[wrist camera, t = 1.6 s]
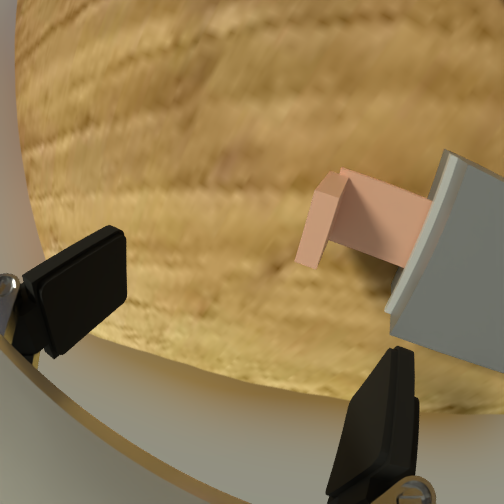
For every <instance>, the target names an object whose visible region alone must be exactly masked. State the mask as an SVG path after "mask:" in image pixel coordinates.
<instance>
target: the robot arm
mask: <svg viewBox="0 0 504 504" xmlns="http://www.w3.org/2000/svg"><path fill="white" fill-rule="evenodd" d="M22 277H23V281H24V282H23V283H22V284H20V281H19V279H18V277H17V276H15V275H13V274H8V273H6V274H0V504H250V503H248V502H246V501H243V500H241V499H238V498H236V497H233V496H231V495H229V494H227V493H224V492H222V491H219V490H218V489H215V488H213V487H211V486H209V485H207V484H204V483H203V482H201V481H198V480H196V479H194V478H192V477H190V476H189V475H187V474H185V473H183V472H181V471H179V470H177V469H175V468H173V467H172V466H170V465H168V464H166V463H164V462H163V461H161V460H159V459H157V458H156V457H154V456H152V455H151V454H149V453H147V452H146V451H144V450H142V449H141V448H139V447H137V446H136V445H134V444H133V443H131V442H130V441H128V440H127V439H125V438H124V437H122V436H121V435H119V434H118V433H116V432H115V431H113V430H112V429H110V428H109V427H107V426H106V425H105V424H103V423H102V422H100V421H99V420H98V419H96V418H95V417H93V416H92V415H90V413H88V412H87V411H86V410H84V409H83V408H82V407H80V406H79V405H78V404H77V403H75V402H74V401H73V400H72V399H70V398H69V397H68V396H67V395H65V394H64V393H63V392H62V391H61V390H59V389H58V388H57V387H56V386H55V385H53V383H51V382H50V381H49V380H48V379H47V378H46V377H45V376H44V375H42V374H41V373H40V372H39V371H38V370H37V369H38V362H39V356H40V351H41V350H42V349H43V348H44V350H45V352H46V353H47V354H48V355H50V356H51V357H52V358H53V359H55V358H56V357H58V356H59V355H63V354H65V353H66V352H67V351H68V350H69V349H71V348H72V347H73V346H74V345H75V344H76V343H77V342H78V341H80V340H81V339H82V338H83V337H84V336H86V335H87V334H88V333H89V332H90V331H91V330H92V329H94V328H95V327H96V326H97V325H98V324H99V323H101V322H102V321H103V320H104V319H105V318H106V317H108V316H109V315H110V314H111V313H112V312H114V311H115V310H116V309H117V308H118V307H119V306H121V305H122V304H123V303H124V302H125V300H126V298H127V273H126V237H125V236H124V232H123V231H122V230H120V229H118V228H116V227H113V226H111V225H108V226H105V227H103V228H102V229H100V230H98V231H96V232H94V233H92V234H91V235H89V236H87V237H85V238H84V239H82V240H80V241H78V242H76V243H75V244H73V245H71V246H70V247H68V248H66V249H64V250H63V251H61V252H59V253H58V254H56V255H54V256H53V257H51V258H49V259H48V260H46V261H44V262H43V263H41V264H39V265H38V266H36V267H35V268H33V269H31V270H30V271H28V272H26V273H25V274H23V275H22ZM414 386H415V371H414V352H413V351H411V350H408V349H405V348H403V347H400V346H396V347H395V348H394V349H391V348H389V349H388V350H387V351H386V353H385V354H384V356H383V357H382V358H381V360H380V361H379V363H378V364H377V365H376V367H375V368H374V370H373V371H372V372H371V374H370V375H369V376H368V378H367V379H366V380H365V382H364V383H363V384H362V386H361V387H360V388H359V390H358V391H357V392H356V393H355V395H354V396H353V397H352V399H351V401H350V403H349V406H348V410H347V414H346V418H345V423H344V427H343V431H342V435H341V439H340V443H339V447H338V450H337V454H336V458H335V461H334V465H333V468H332V472H331V475H330V478H329V482H328V485H327V488H326V495H329V499H328V502H327V504H436V494H435V491H434V488H433V487H432V485H431V484H430V483H429V482H428V481H427V480H426V479H424V478H422V477H420V476H415V471H416V461H417V449H418V433H419V400H418V398H416V397H414Z"/></svg>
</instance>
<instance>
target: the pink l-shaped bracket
mask: <svg viewBox="0 0 504 504" xmlns="http://www.w3.org/2000/svg"><path fill="white" fill-rule="evenodd" d="M432 202H433V201H432V200H429V199H427V198H425V197H422V196H420V195H417V194H415V193H412V192H410V191H407V190H405V189H402V188H399V187H397V186H394V185H392V184H389V183H386V182H384V181H381V180H378V179H375V178H372V177H370V176H367V175H364V174H361V173H358V172H355V171H352V170H349V169H346V168H343V167H341V170H340V174H338V173H335V172H332V171H330V172H329V173H328V174H327V175H326V177H325V178H324V179H323V180H322V182H321V183H320V184H319V185H318V187H317V188H316V189H315V191H314V195H313V198H312V202H311V206H310V209H309V213H308V216H307V220H306V223H305V227H304V231H303V234H302V238H301V241H300V244H299V248H298V251H297V255H296V258H295V261H294V262H297V263H300V264H302V265H305V266H308V267H311V268H313V269H317V266H318V264H319V262H320V259H321V257H322V255H323V252H324V250H325V248H326V245H327V243H328V240H330V241H333V242H336V243H338V244H341V245H344V246H347V247H349V248H352V249H355V250H358V251H360V252H363V253H366V254H368V255H371V256H374V257H376V258H379V259H382V260H384V261H387V262H390V263H392V264H395V265H397V266H400V267H403V268H405V266H406V264H407V261H408V259H409V257H410V255H411V253H412V250H413V248H414V246H415V243H416V241H417V239H418V236H419V234H420V232H421V229H422V227H423V224H424V222H425V219H426V217H427V214H428V212H429V209H430V207H431V204H432Z"/></svg>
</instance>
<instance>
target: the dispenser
mask: <svg viewBox="0 0 504 504" xmlns="http://www.w3.org/2000/svg"><path fill="white" fill-rule="evenodd" d="M427 199H429V200H432V201H433V202H432V204H431V207H430V209H429V212H428V214H427V217H426V219H425V222H424V224H423V227H422V229H421V232H420V234H419V236H418V239H417V241H416V243H415V246H414V248H413V250H412V253H411V255H410V257H409V259H408V261H407V264H406V266H405V268H403V267H400V266H399V268H398V270H397V272H396V274H395V277H394V279H393V281H392V283H391V297H390V299H389V301H388V302H387V304H386V306H385V311H384V312H386V313H389V314H391V317H390V335H392V336H395V337H398V338H400V339H403V340H406V341H409V342H412V343H415V344H418V345H420V346H423V347H426V348H429V349H432V350H435V351H438V352H441V353H444V354H447V355H450V356H453V357H456V358H459V359H462V360H465V361H468V362H471V363H474V364H477V365H480V366H483V367H486V368H489V369H492V370H495V371H498V372H502V373H504V178H503V177H502V176H500V175H498V174H496V173H494V172H492V171H490V170H488V169H486V168H484V167H482V166H480V165H478V164H476V163H474V162H472V161H470V160H468V159H466V158H464V157H462V156H459V155H457V154H455V153H453V152H451V151H448V150H446V149H444V151H443V154H442V158H441V161H440V164H439V167H438V170H437V173H436V176H435V179H434V182H433V184H432V187H431V190H430V193H429V195H428V198H427Z"/></svg>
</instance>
